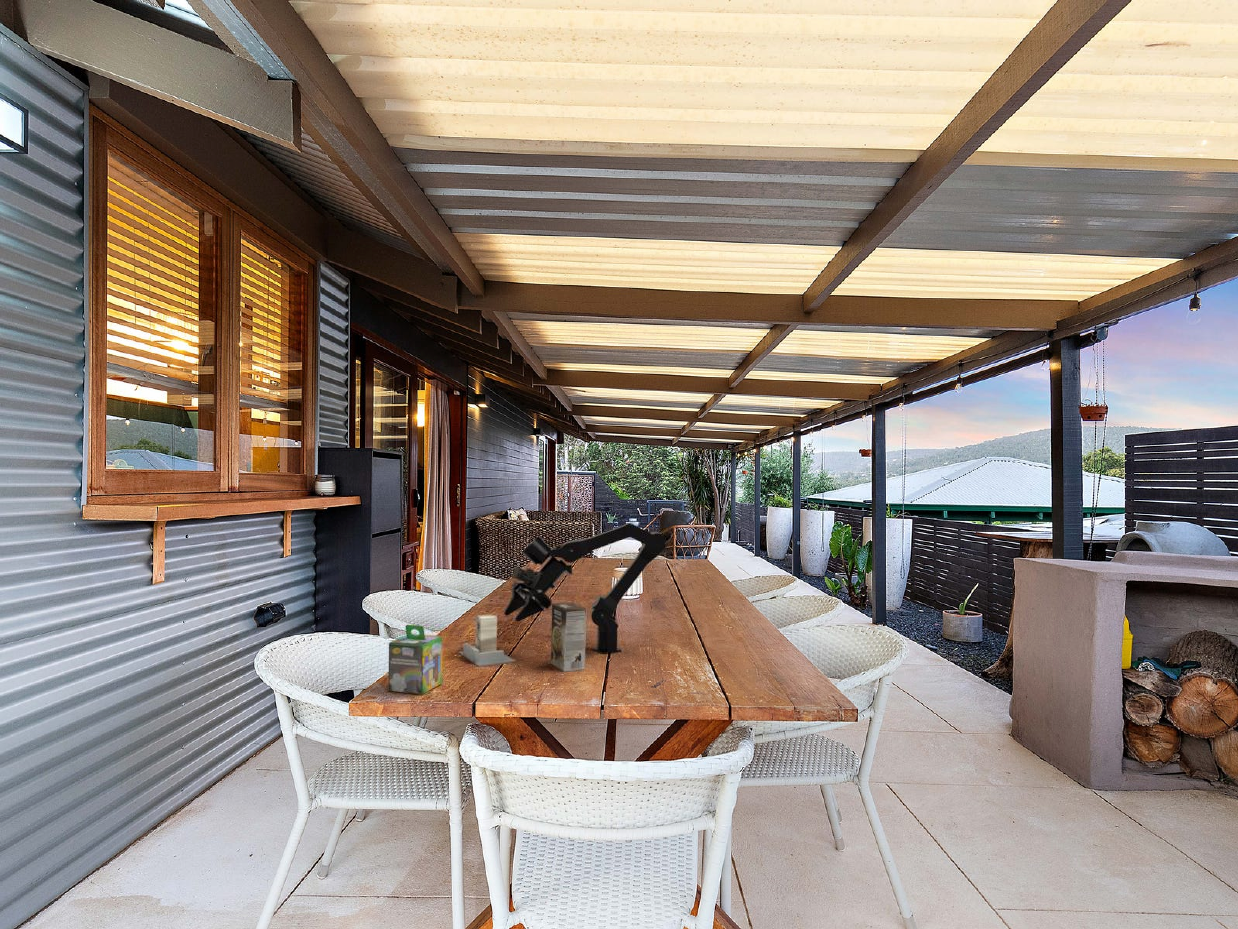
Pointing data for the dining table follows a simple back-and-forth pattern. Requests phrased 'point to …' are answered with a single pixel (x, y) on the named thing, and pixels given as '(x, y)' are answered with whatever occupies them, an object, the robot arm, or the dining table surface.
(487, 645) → the link block
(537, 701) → the dining table surface
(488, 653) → the keeper bracket
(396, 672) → the chalk box
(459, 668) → the dining table surface
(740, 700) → the dining table surface
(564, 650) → the coffee box
